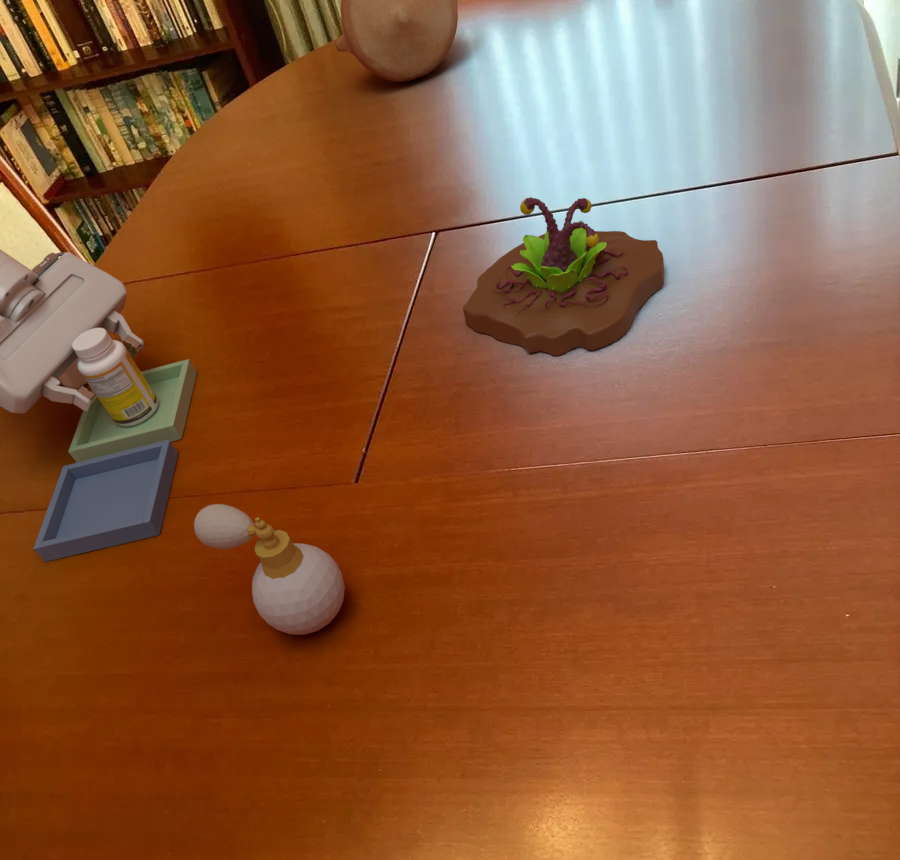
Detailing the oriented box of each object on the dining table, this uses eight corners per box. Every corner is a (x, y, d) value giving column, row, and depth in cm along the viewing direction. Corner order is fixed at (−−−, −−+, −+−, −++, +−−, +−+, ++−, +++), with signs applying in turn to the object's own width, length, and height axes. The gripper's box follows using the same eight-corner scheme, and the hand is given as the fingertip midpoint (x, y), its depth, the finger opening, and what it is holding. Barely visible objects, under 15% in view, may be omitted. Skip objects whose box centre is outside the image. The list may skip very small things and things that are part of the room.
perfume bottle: (353, 642, 71) (298, 541, 63) (242, 662, 73) (173, 567, 64) (357, 574, 76) (306, 472, 67) (253, 594, 78) (190, 497, 69)
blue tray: (44, 562, 89) (32, 548, 87) (73, 479, 97) (62, 466, 95) (159, 535, 87) (149, 521, 85) (178, 453, 95) (169, 439, 94)
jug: (321, 40, 136) (301, 18, 158) (420, 117, 145) (388, 87, 168) (393, -93, 128) (361, -95, 150) (492, -1, 138) (448, -17, 160)
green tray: (78, 465, 99) (67, 451, 97) (101, 397, 107) (92, 384, 105) (181, 439, 97) (172, 425, 95) (197, 372, 105) (189, 358, 103)
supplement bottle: (132, 396, 104) (84, 322, 96) (169, 398, 102) (122, 322, 94) (106, 428, 101) (54, 353, 94) (142, 430, 99) (93, 354, 91)
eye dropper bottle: (59, 397, 109) (-2, 313, 101) (62, 373, 113) (4, 291, 104) (91, 385, 109) (34, 300, 100) (93, 362, 113) (38, 278, 104)
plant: (535, 239, 105) (517, 144, 97) (689, 256, 94) (684, 151, 86) (441, 338, 96) (412, 243, 88) (598, 368, 86) (583, 264, 78)
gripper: (55, 263, 102) (161, 336, 105) (-63, 375, 91) (59, 452, 94) (61, 225, 97) (172, 303, 100) (-63, 339, 86) (65, 421, 89)
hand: (116, 376), depth 97 cm, fingers open, 8 cm apart
